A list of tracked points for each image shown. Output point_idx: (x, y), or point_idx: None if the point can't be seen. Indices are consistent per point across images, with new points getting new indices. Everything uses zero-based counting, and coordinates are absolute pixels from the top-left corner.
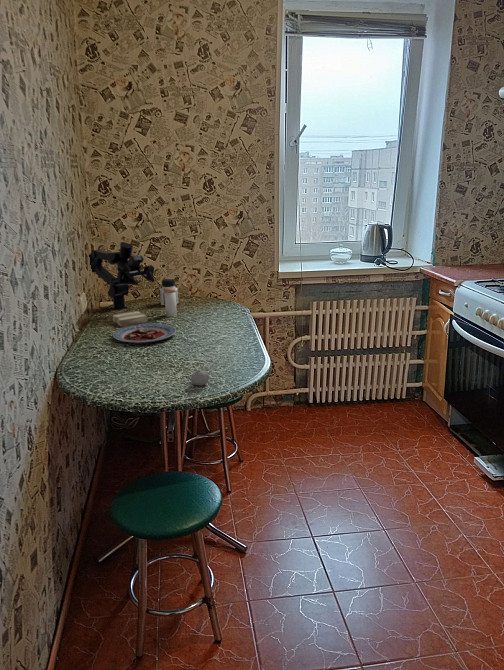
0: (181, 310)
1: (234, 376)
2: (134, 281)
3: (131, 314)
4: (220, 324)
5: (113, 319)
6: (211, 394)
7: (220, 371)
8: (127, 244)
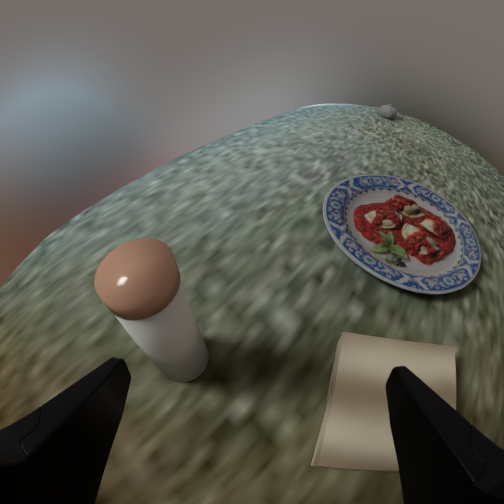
0: None
1: (351, 110)
2: (434, 397)
3: (384, 414)
4: (194, 187)
5: None
6: None
7: (356, 116)
8: None
